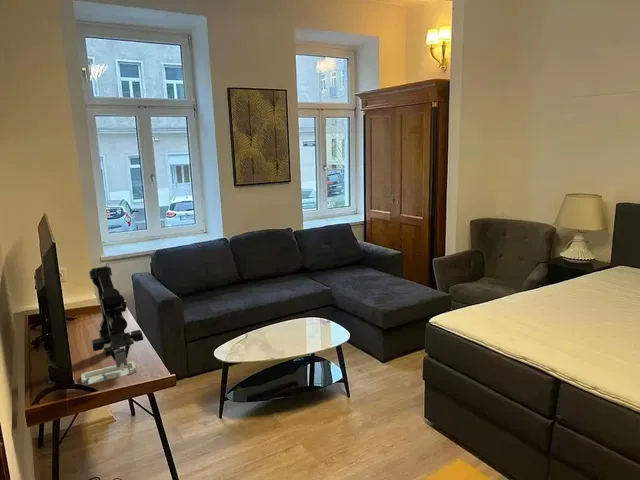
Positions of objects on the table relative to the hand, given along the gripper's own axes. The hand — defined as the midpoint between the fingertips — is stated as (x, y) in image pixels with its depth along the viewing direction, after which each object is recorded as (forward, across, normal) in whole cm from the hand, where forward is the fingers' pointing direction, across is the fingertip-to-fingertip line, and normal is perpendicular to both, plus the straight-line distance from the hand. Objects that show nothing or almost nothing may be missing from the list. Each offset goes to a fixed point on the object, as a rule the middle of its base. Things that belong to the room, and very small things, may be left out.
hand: (120, 359), depth 190 cm
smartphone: (+6, -20, +10) cm, 23 cm away
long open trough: (+6, -5, 0) cm, 8 cm away
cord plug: (+2, 0, -3) cm, 4 cm away
